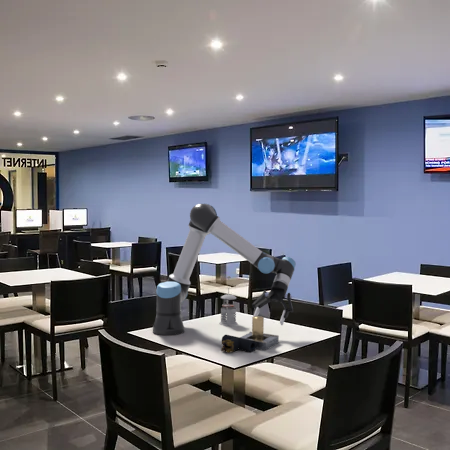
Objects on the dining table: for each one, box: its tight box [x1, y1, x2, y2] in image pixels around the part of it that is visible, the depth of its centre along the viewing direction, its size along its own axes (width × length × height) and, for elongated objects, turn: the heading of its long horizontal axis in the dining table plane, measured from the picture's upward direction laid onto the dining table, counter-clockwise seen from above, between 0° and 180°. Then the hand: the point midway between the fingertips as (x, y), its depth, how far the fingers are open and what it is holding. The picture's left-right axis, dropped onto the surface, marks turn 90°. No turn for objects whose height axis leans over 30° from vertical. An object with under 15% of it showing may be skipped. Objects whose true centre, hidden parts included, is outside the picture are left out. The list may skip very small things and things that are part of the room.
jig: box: [240, 331, 279, 351], centre depth 226 cm, size 14×14×3 cm
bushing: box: [251, 315, 265, 341], centre depth 225 cm, size 5×5×12 cm
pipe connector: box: [220, 334, 257, 354], centre depth 216 cm, size 12×5×15 cm
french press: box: [218, 275, 238, 327], centre depth 266 cm, size 10×12×25 cm
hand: (267, 321), depth 235 cm, fingers open, 13 cm apart
